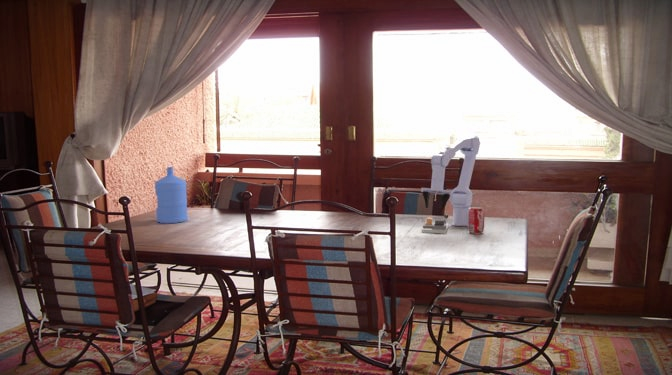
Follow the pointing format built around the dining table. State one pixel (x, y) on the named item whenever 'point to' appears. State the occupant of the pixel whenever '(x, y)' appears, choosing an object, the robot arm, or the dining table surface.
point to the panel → (435, 228)
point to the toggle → (445, 217)
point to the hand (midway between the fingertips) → (434, 208)
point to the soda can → (476, 220)
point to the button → (439, 222)
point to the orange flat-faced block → (429, 221)
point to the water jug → (171, 198)
